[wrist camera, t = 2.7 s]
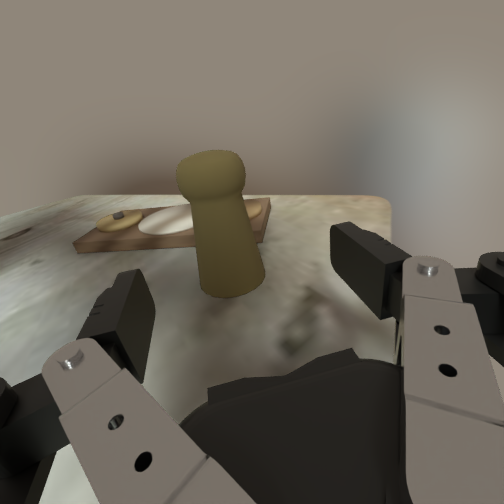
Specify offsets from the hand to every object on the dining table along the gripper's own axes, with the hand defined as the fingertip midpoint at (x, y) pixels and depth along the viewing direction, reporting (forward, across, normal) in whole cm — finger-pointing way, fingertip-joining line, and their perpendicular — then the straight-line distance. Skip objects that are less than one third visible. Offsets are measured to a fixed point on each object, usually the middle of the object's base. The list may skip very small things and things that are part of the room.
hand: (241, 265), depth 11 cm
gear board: (+26, +6, +8) cm, 28 cm away
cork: (+11, 0, +8) cm, 14 cm away
